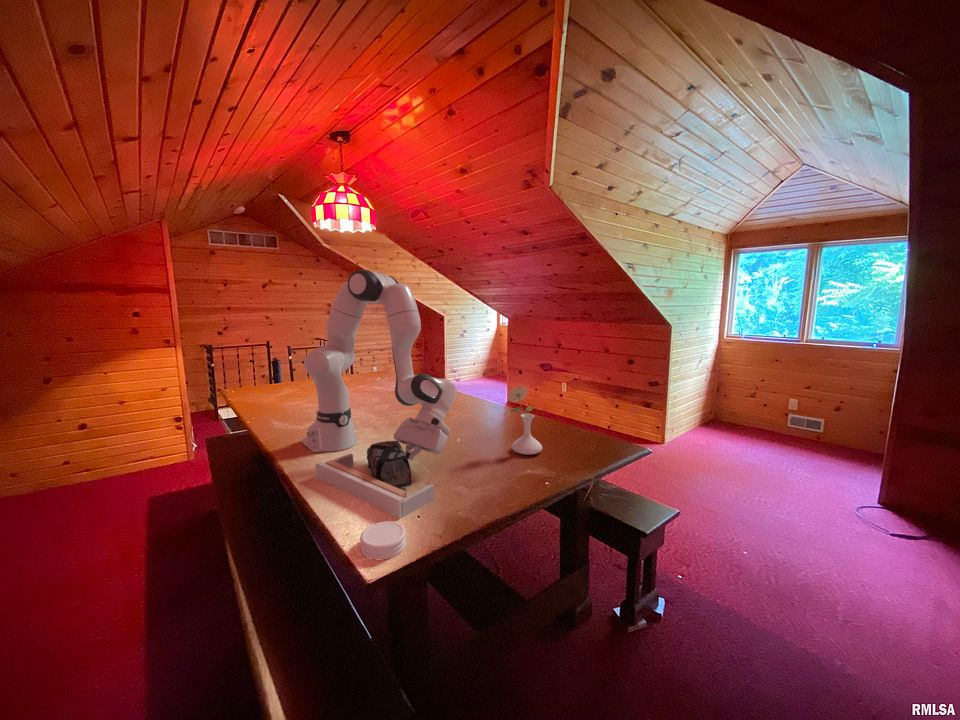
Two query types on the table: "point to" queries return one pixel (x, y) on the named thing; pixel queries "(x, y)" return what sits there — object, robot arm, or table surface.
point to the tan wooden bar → (368, 479)
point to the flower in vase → (526, 441)
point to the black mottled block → (389, 463)
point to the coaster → (383, 540)
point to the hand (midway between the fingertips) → (407, 458)
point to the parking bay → (372, 489)
